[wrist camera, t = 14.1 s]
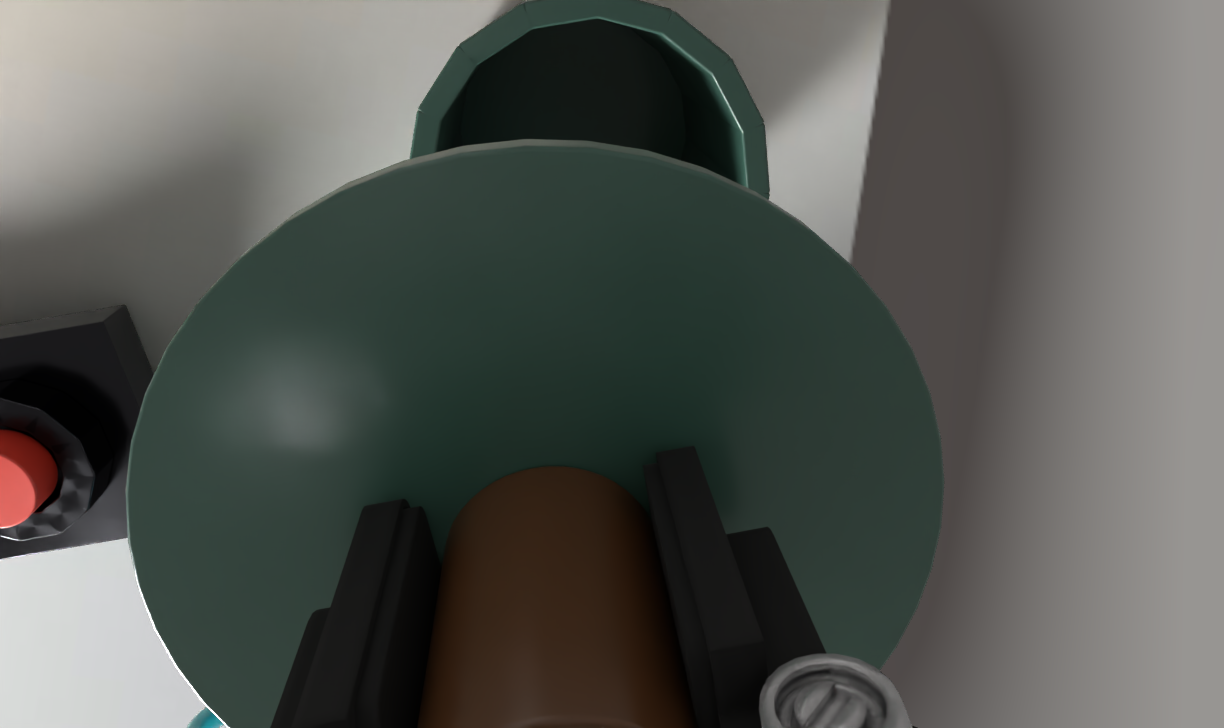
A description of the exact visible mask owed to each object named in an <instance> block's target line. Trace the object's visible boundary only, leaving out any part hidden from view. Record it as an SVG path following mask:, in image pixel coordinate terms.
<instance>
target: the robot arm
mask: <svg viewBox="0 0 1224 728" xmlns="http://www.w3.org/2000/svg"><path fill="white" fill-rule="evenodd" d="M656 461H657V463H652V464H647V465H643V472H644V478H645V484H646V490H647V496H648V502H649V508H650V514H651V520H652V526H653V531H654V535H655V540H656V544H657V549H658V553H659V558H660V562H661V566H662V571H663V575H664V580H665V584H666V589H667V593H668V597H669V602H670V606H671V611H672V615H673V619H674V624H675V628H676V633H677V637H678V642H679V646H680V650H681V655H682V659H683V664H684V668H685V673H686V677H687V681H688V686H689V690H690V695H691V699H692V703H693V708H694V712H695V717H696V721H697V726H698V728H917V727H914V726H912V725H911V722H910V720H909V717H908V714H907V712H906V709H905V706H904V704H903V701H902V699H901V696H900V694H899V693H898V691H897V689H896V688H895V686H894V685H893V683H892V681H891V680H890V679H889V678H888V677H887V676H885V675H884V674H883V673H882V672H881V671H880V670H879V669H877V668H876V667H874V666H872V665H870V664H868V663H866V662H864V661H862V660H860V659H858V658H854V657H849V656H845V655H841V654H827V653H826V651H825V649H824V646H823V644H822V642H821V640H820V638H819V635H818V633H817V631H816V629H815V626H814V624H813V622H812V620H811V617H810V615H809V613H808V611H807V608H806V606H805V604H804V602H803V599H802V597H801V595H800V593H799V590H798V588H797V586H796V584H795V581H794V579H793V577H792V575H791V572H790V570H789V568H788V566H787V563H786V561H785V559H784V557H783V554H782V552H781V550H780V548H779V546H778V543H777V541H776V539H775V537H774V534H773V533H772V531H771V529H770V528H769V527H763V528H757V529H752V530H747V531H741V532H736V533H730V534H726V533H725V530H724V527H723V524H722V522H721V519H720V516H719V513H718V511H717V508H716V505H715V502H714V499H713V497H712V494H711V491H710V488H709V485H708V483H707V480H706V477H705V474H704V471H703V469H702V466H701V463H700V460H699V457H698V455H697V452H696V449H695V447H694V446H689V447H683V448H678V449H672V450H667V451H661V452H656ZM441 570H442V568H441V565H440V561H439V558H438V554H437V551H436V548H435V544H434V541H433V537H432V534H431V530H430V527H429V524H428V520H427V517H426V514H425V511H424V509H423V507H421V506H418V507H412V508H410V505H409V503H408V501H407V500H406V499H399V500H393V501H388V502H382V503H377V504H371V505H366V506H364V507H363V509H362V511H361V515H360V518H359V521H358V524H357V527H356V530H355V533H354V536H353V539H352V542H351V545H350V548H349V551H348V554H347V557H346V561H345V564H344V567H343V570H342V573H341V576H340V579H339V582H338V585H337V588H336V591H335V594H334V597H333V600H332V603H331V607H329V608H324V609H319V610H316V611H315V612H313V613H312V614H311V616H310V618H309V620H308V623H307V625H306V628H305V631H304V634H303V637H302V639H301V642H300V645H299V648H298V651H297V654H296V656H295V659H294V662H293V665H292V668H291V671H290V673H289V676H288V679H287V682H286V685H285V688H284V690H283V693H282V696H281V699H280V702H279V704H278V707H277V710H276V713H275V716H274V719H273V721H272V724H271V727H270V728H417V725H418V718H419V712H420V706H421V699H422V693H423V686H424V680H425V673H426V667H427V660H428V654H429V647H430V641H431V634H432V628H433V621H434V615H435V608H436V602H437V596H438V589H439V583H440V576H441Z"/></svg>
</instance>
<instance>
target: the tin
mask: <svg viewBox="0 0 1224 728" xmlns="http://www.w3.org/2000/svg"><path fill="white" fill-rule="evenodd" d="M521 139H543V140H583V141H592V142H599V143H605V144H611V145H617V146H624V147H630V148H636V149H642V150H648V151H651V152H654V153H658V154H661V155H664V156H667V157H671V158H674V159H677V160H681V161H684V162H687V163H691V164H694V165H697V166H700V167H703V168H706V169H708V170H710V171H712V172H714V173H716V174H719V175H721V176H723V177H725V178H727V179H729V180H732V181H734V182H736V183H738V184H740V185H742V186H745V187H747V188H749V189H751V190H753V191H755V192H757V193H758V194H760V195H761V196H763V197H765V198H766V199H769V196H770V194H769V191H770V187H769V174H768V161H767V148H766V135H765V125H764V120H763V118H762V116H761V114H760V112H759V110H758V109H757V107H756V105H755V103H754V101H753V99H752V97H751V95H750V93H749V91H748V89H747V87H746V85H745V83H744V81H743V79H742V77H741V75H740V73H739V71H738V69H737V67H736V65H735V64H734V62H733V60H732V59H731V58H730V57H729V55H728V54H727V53H725V52H724V51H723V50H722V49H720V48H719V47H718V46H717V45H716V44H714V43H713V42H712V41H711V40H709V39H708V38H707V37H706V36H705V35H703V34H702V33H701V32H700V31H699V30H697V29H696V28H695V27H694V26H692V25H691V24H690V23H689V22H688V21H686V20H685V19H684V18H683V17H681V16H680V15H679V14H678V13H677V12H675V11H672V10H671V9H669V8H665V7H662V6H658V5H654V4H651V3H647V2H643V1H639V0H526V1H523V2H522V3H520V4H519V5H517V6H516V7H514V8H513V9H511V10H510V11H508V12H507V13H505V14H504V15H502V16H501V17H499V18H498V19H496V20H495V21H493V22H492V23H490V24H489V25H487V26H486V27H484V28H483V29H481V30H480V31H478V32H477V33H475V34H474V35H472V36H471V37H469V38H468V39H466V40H465V41H463V42H462V43H460V45H459V46H458V47H457V48H456V49H455V51H454V52H453V54H452V56H451V57H450V59H449V60H448V62H447V63H446V65H445V67H444V68H443V70H442V71H441V73H440V74H439V76H438V78H437V79H436V81H435V82H434V84H433V86H432V87H431V89H430V90H429V92H428V93H427V95H426V97H425V98H424V100H423V101H422V103H421V104H420V106H419V108H418V111H417V115H416V121H415V128H414V134H413V140H412V147H411V153H410V159H412V158H416V157H420V156H424V155H428V154H432V153H436V152H440V151H445V150H449V149H453V148H457V147H461V146H466V145H475V144H484V143H494V142H503V141H512V140H521Z"/></svg>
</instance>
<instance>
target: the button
mask: <svg viewBox="0 0 1224 728" xmlns="http://www.w3.org/2000/svg"><path fill="white" fill-rule="evenodd" d="M57 480H58V470H57V466H56V463H55V461H54V459H53V457H52V455H51V454H50V453H49V451H48V450H47V449H46V448H45V447H44V446H43V445H42V444H41V443H39V442H38V441H37V440H35V439H33V438H32V437H30V436H28V435H26V434H23V433H20V432H17V431H12V430H5V429H0V528H7V527H11V526H15V525H17V524H20V523H21V522H23V521H25V520H26V519H27V518H28V517H29V516H30V515H31V514H32V513H33V512H34V511H35V510H36V509H37V508H38V507H39V506H40V505H41V504H42V503H43V502H44V501H45V500H46V499H47V498H48V497H49V496H50V495H51V494H52V492H53V491H54V489H55V487H56V484H57Z"/></svg>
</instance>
